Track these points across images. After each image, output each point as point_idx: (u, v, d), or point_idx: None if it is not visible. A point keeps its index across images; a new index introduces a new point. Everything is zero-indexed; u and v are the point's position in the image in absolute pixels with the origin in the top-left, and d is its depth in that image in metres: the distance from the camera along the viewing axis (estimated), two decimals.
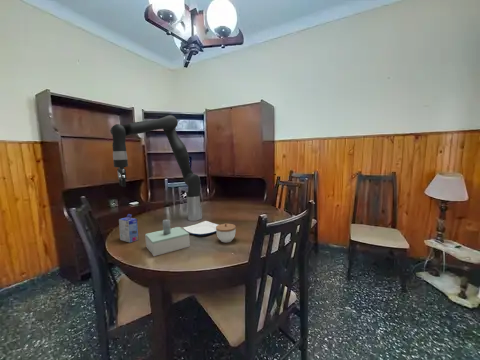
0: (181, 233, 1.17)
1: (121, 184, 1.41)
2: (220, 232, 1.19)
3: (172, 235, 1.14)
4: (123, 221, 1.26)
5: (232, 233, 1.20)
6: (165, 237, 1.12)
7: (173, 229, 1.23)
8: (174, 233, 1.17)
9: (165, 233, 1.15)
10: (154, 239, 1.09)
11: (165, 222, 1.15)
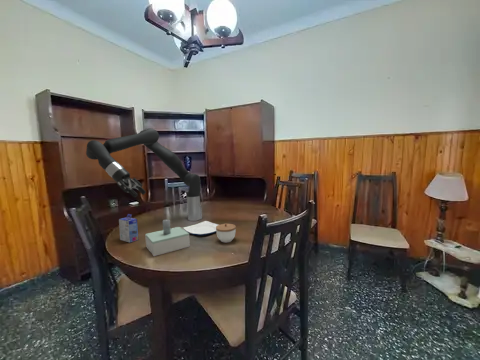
0: (181, 233, 1.17)
1: (143, 192, 1.21)
2: (220, 232, 1.19)
3: (172, 235, 1.14)
4: (123, 221, 1.26)
5: (232, 233, 1.20)
6: (165, 237, 1.12)
7: (173, 229, 1.23)
8: (174, 233, 1.17)
9: (165, 233, 1.15)
10: (154, 239, 1.09)
11: (165, 222, 1.15)
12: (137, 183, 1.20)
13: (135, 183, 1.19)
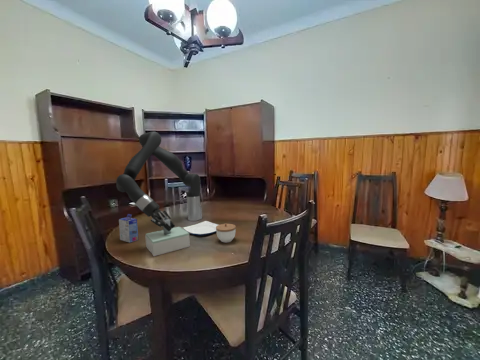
0: (181, 233, 1.17)
1: (172, 226, 1.19)
2: (220, 232, 1.19)
3: (172, 235, 1.14)
4: (123, 221, 1.26)
5: (232, 233, 1.20)
6: (165, 237, 1.12)
7: (173, 229, 1.24)
8: (174, 233, 1.17)
9: (165, 233, 1.16)
10: (154, 239, 1.10)
11: None
12: (166, 216, 1.18)
13: (164, 216, 1.18)
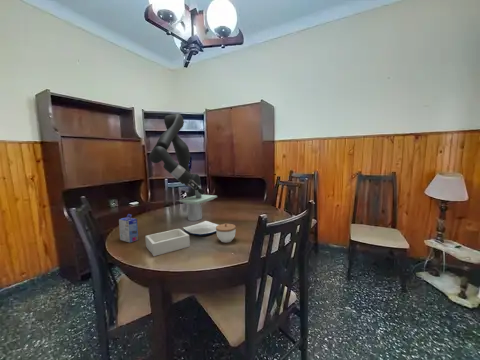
0: (211, 196, 1.39)
1: None
2: (220, 232, 1.19)
3: (205, 197, 1.35)
4: (123, 221, 1.26)
5: (232, 233, 1.20)
6: (202, 199, 1.32)
7: None
8: (205, 197, 1.38)
9: (198, 197, 1.35)
10: (195, 200, 1.28)
11: None
12: None
13: None
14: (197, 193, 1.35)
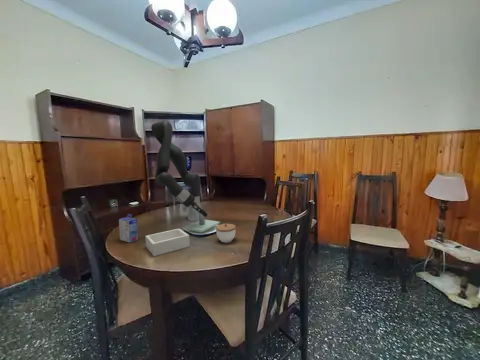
0: (213, 222, 1.44)
1: None
2: (220, 232, 1.19)
3: (209, 224, 1.40)
4: (123, 221, 1.26)
5: (232, 233, 1.20)
6: (206, 226, 1.36)
7: None
8: (208, 223, 1.43)
9: (202, 224, 1.39)
10: (199, 228, 1.32)
11: None
12: None
13: None
14: (201, 220, 1.39)
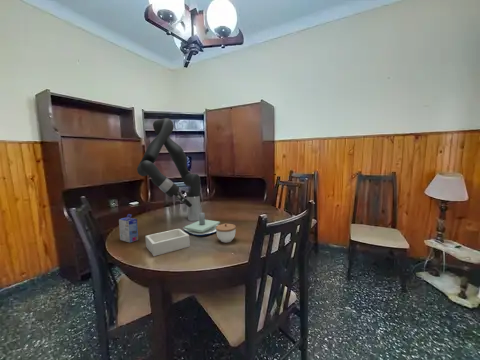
0: (214, 222, 1.44)
1: None
2: (220, 232, 1.19)
3: (209, 224, 1.40)
4: (123, 221, 1.26)
5: (232, 233, 1.20)
6: (206, 226, 1.36)
7: None
8: (208, 223, 1.43)
9: (202, 224, 1.39)
10: (199, 228, 1.33)
11: (202, 214, 1.39)
12: (183, 195, 1.38)
13: (182, 195, 1.37)
14: (201, 220, 1.39)
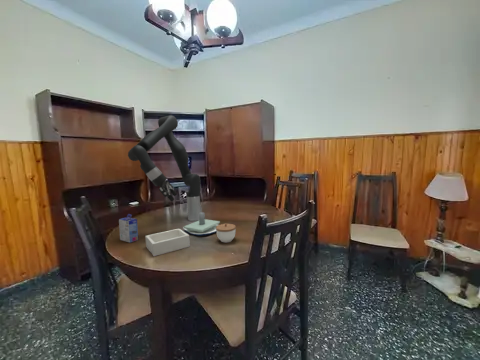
0: (214, 222, 1.44)
1: (174, 194, 1.39)
2: (220, 232, 1.19)
3: (209, 224, 1.40)
4: (123, 221, 1.26)
5: (232, 233, 1.20)
6: (206, 226, 1.36)
7: None
8: (208, 223, 1.43)
9: (202, 223, 1.39)
10: (199, 228, 1.33)
11: (202, 214, 1.39)
12: (171, 186, 1.37)
13: (169, 186, 1.36)
14: (201, 220, 1.39)
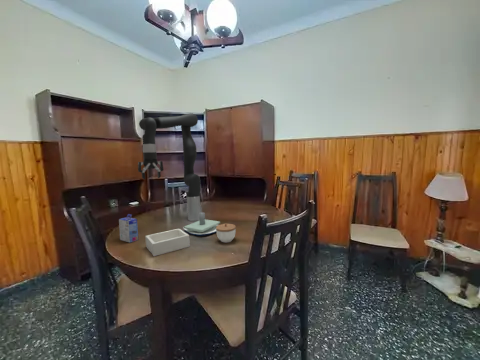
0: (214, 222, 1.44)
1: (158, 177, 1.42)
2: (220, 232, 1.19)
3: (209, 224, 1.40)
4: (123, 221, 1.26)
5: (232, 233, 1.20)
6: (206, 226, 1.37)
7: None
8: (208, 223, 1.43)
9: (202, 223, 1.39)
10: (200, 228, 1.33)
11: (202, 214, 1.39)
12: (157, 168, 1.39)
13: (155, 167, 1.39)
14: (201, 220, 1.39)
